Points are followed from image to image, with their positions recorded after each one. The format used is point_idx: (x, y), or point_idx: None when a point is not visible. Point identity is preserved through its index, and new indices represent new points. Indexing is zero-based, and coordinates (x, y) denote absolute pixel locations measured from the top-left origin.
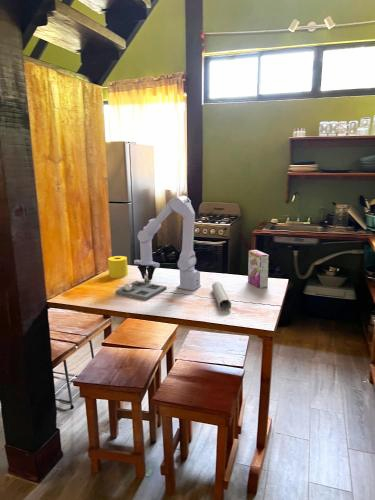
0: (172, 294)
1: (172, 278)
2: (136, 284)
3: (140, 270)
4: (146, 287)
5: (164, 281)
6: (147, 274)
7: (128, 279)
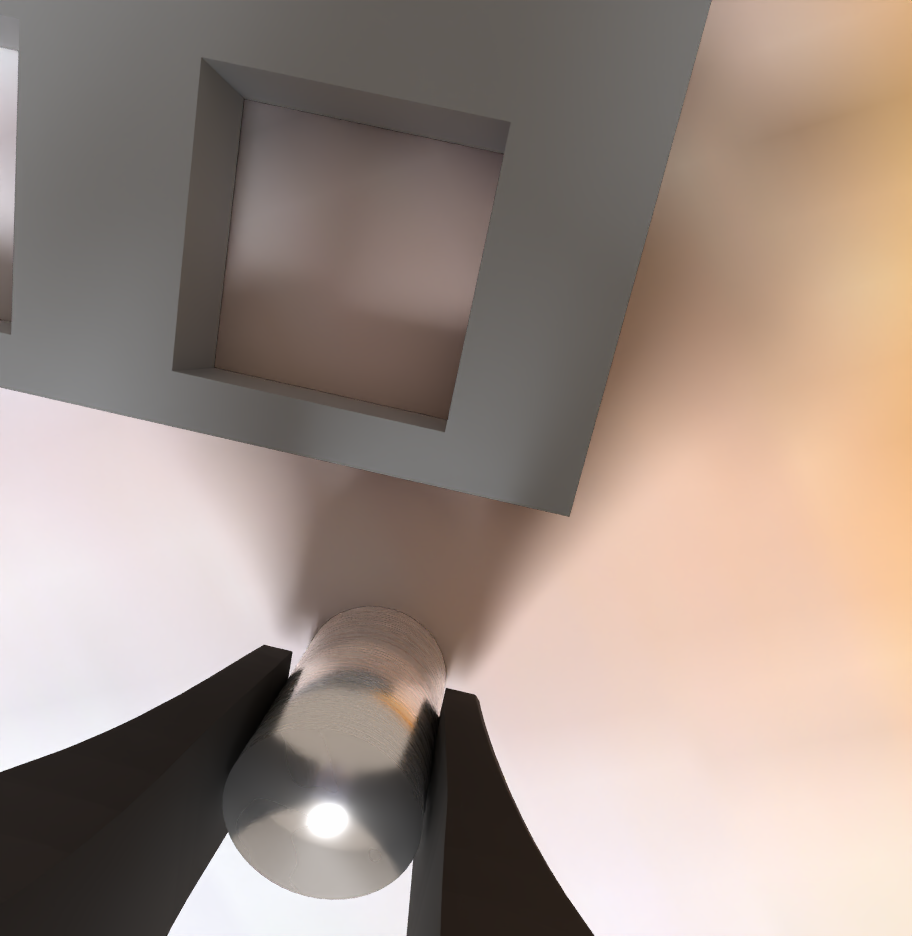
0: None
1: None
2: (475, 299)
3: (516, 897)
4: (29, 45)
5: None
6: (303, 806)
7: (887, 725)
